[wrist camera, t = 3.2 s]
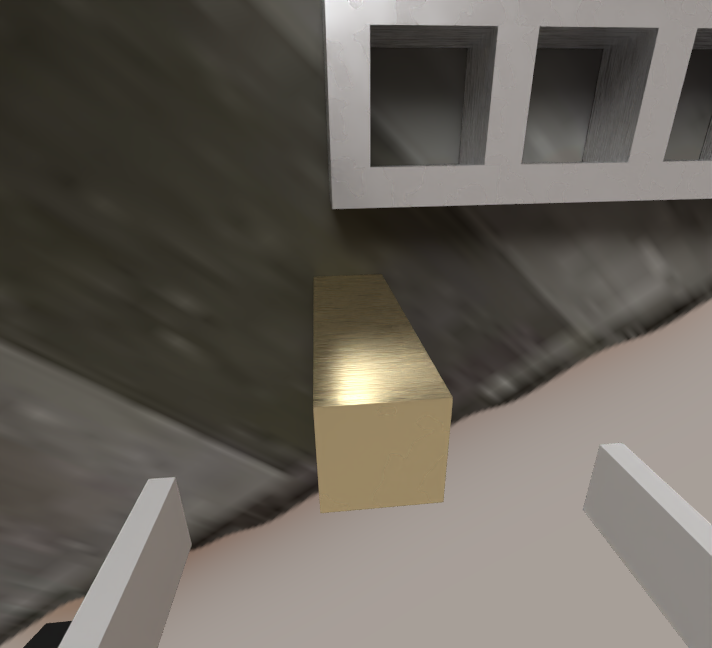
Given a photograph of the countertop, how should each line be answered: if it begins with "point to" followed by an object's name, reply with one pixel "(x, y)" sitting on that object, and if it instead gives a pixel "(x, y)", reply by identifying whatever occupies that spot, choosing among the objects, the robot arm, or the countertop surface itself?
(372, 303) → the brass peg
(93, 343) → the countertop surface
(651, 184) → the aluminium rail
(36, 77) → the countertop surface
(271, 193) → the countertop surface
